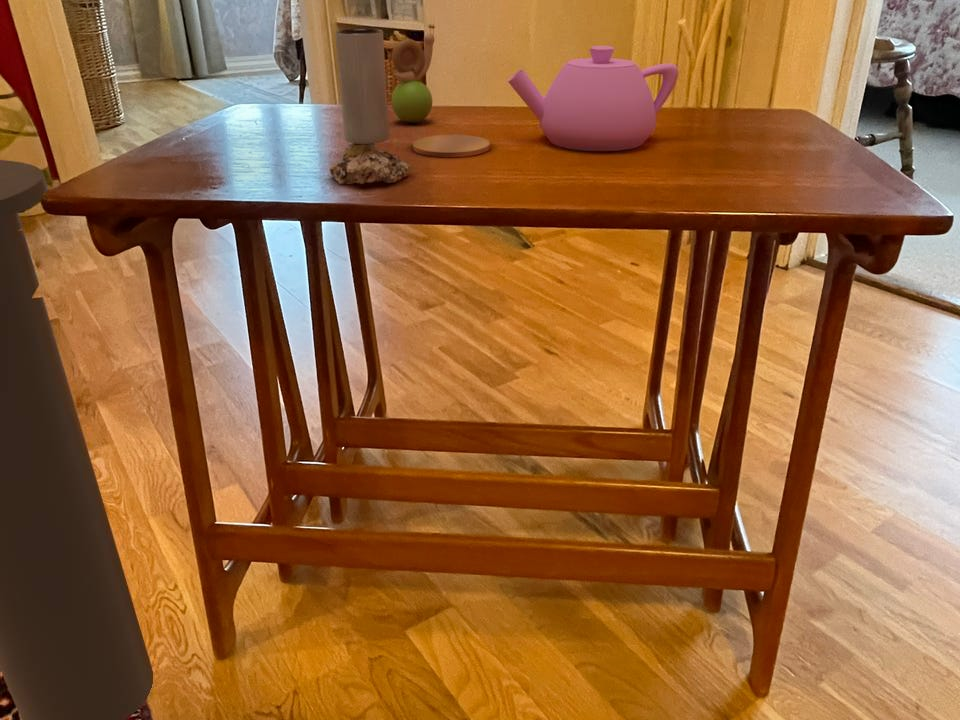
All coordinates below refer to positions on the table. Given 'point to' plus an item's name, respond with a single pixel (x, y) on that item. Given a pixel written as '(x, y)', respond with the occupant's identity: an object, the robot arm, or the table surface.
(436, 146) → the cork coaster
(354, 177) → the mineral rock
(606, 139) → the teapot
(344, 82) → the grey cylinder
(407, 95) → the snail figurine
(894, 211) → the table surface
